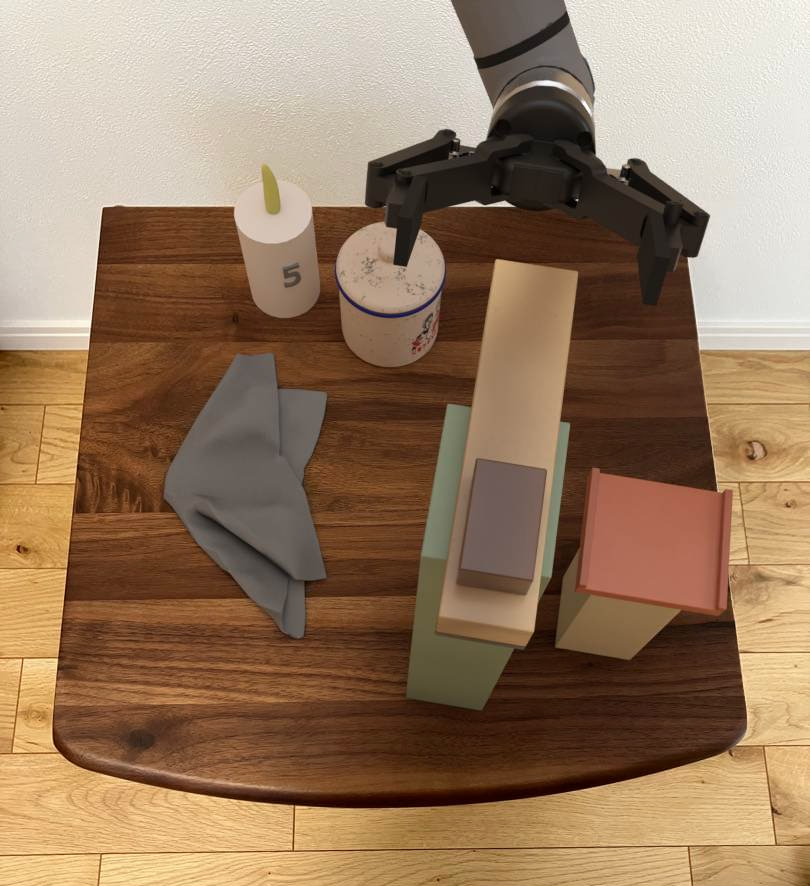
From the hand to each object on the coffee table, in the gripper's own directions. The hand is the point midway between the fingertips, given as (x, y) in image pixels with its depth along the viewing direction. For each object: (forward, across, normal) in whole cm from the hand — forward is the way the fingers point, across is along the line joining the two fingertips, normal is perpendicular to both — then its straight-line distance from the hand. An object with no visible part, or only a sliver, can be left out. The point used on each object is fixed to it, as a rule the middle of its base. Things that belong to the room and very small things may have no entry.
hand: (528, 262), depth 51 cm
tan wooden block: (+11, 0, -5) cm, 12 cm away
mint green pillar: (-4, 0, -34) cm, 35 cm away
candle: (-31, +20, -19) cm, 41 cm away
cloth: (-14, +19, -29) cm, 37 cm away
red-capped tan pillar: (-8, -11, -32) cm, 35 cm away
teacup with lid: (-30, +10, -19) cm, 37 cm away
